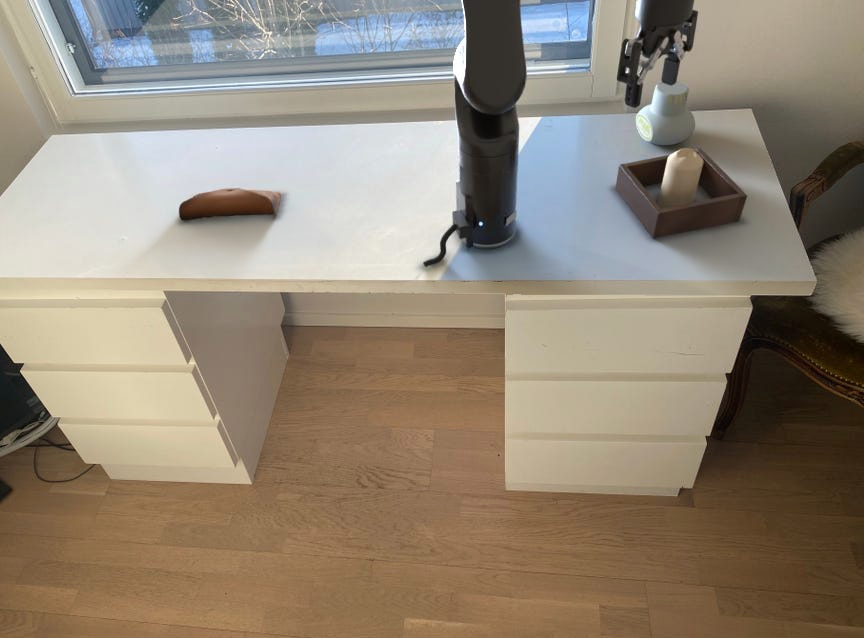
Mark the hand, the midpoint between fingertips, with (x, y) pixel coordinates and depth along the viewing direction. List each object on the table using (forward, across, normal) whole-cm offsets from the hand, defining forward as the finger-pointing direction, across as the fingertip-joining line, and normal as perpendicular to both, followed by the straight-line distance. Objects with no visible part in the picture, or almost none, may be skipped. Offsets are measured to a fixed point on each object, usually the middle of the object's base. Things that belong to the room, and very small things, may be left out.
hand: (650, 94), depth 108 cm
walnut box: (+21, -6, +4) cm, 22 cm away
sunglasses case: (+19, +50, -52) cm, 75 cm away
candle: (+21, -6, +4) cm, 22 cm away
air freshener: (+21, -22, -10) cm, 32 cm away
